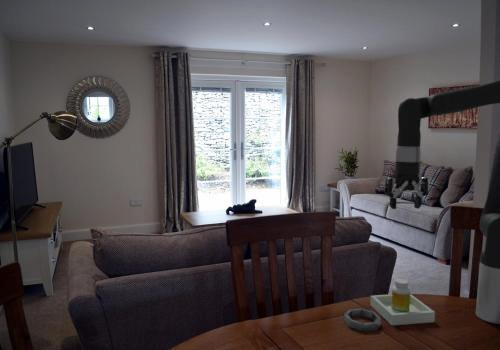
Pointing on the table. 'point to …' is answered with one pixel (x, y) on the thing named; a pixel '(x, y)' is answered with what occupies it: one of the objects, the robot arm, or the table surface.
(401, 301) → the supplement bottle
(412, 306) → the tray
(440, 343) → the table surface
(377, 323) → the holder ring
